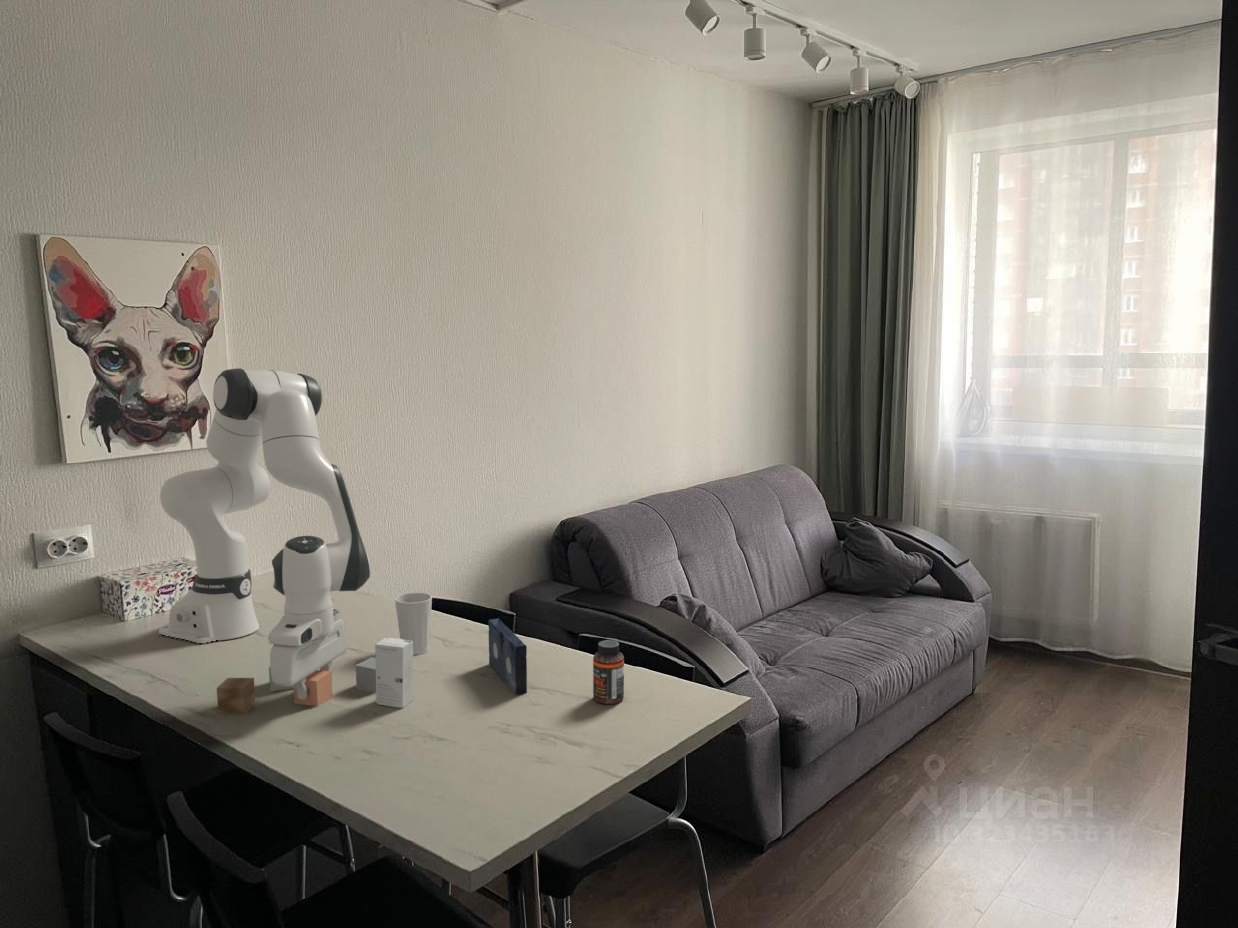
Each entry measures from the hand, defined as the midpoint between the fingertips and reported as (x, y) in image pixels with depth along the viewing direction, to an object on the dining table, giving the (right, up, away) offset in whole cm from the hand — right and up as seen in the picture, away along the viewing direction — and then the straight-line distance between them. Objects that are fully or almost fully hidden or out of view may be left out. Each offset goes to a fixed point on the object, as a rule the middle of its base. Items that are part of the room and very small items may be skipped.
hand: (313, 691), depth 182 cm
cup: (+14, +2, +27) cm, 31 cm away
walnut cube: (-13, -2, -3) cm, 14 cm away
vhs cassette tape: (+36, 0, +11) cm, 38 cm away
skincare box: (+16, -2, -1) cm, 16 cm away
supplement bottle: (+57, -2, 0) cm, 57 cm away
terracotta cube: (0, -2, 0) cm, 2 cm away
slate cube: (+10, -1, +7) cm, 12 cm away
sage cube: (-8, -1, +8) cm, 11 cm away
